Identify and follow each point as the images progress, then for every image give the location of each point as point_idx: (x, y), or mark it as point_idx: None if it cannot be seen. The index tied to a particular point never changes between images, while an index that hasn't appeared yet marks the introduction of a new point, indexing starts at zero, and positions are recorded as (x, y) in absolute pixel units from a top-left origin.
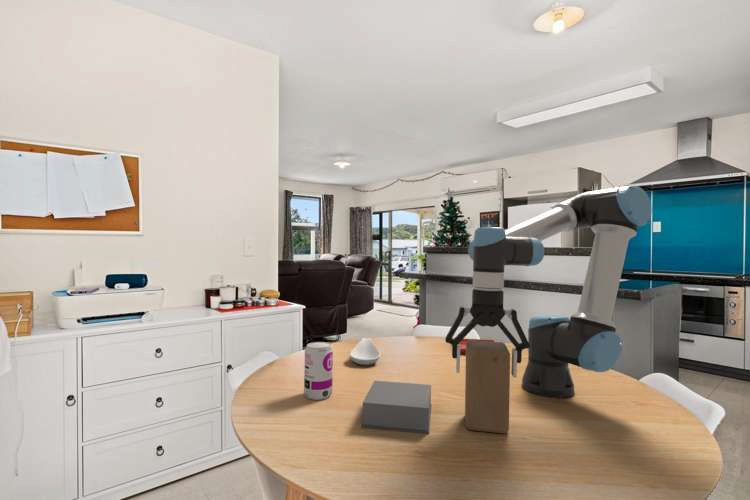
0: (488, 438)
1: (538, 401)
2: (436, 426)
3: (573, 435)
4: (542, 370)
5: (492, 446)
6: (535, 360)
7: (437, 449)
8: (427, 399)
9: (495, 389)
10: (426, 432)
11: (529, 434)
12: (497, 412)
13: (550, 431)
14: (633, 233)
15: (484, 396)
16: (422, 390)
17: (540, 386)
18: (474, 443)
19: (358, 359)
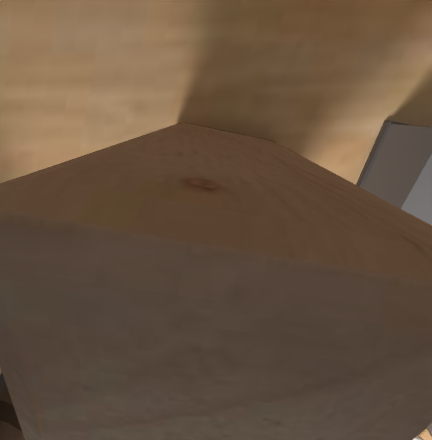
0: (234, 101)
1: None
2: (347, 165)
3: (6, 129)
4: None
5: (237, 50)
6: (14, 420)
7: (400, 22)
8: (410, 202)
9: (206, 141)
10: (392, 122)
11: (119, 130)
12: (201, 130)
13: (62, 150)
14: None
15: (250, 146)
16: None
17: None
18: (281, 68)
19: (416, 436)
